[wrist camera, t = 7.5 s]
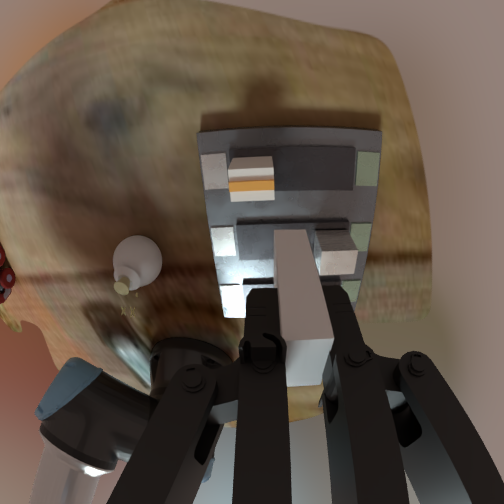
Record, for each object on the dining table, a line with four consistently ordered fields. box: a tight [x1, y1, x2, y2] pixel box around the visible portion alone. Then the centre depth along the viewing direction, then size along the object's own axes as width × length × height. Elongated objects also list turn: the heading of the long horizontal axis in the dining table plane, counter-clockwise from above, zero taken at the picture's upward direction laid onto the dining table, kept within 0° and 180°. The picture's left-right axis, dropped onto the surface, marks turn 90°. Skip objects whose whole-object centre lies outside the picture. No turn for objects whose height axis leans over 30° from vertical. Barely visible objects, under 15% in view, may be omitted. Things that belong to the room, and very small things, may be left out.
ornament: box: [113, 235, 162, 318], centre depth 29 cm, size 6×7×10 cm
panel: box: [197, 126, 382, 317], centre depth 28 cm, size 18×24×6 cm
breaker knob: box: [228, 156, 275, 202], centre depth 23 cm, size 4×3×4 cm
